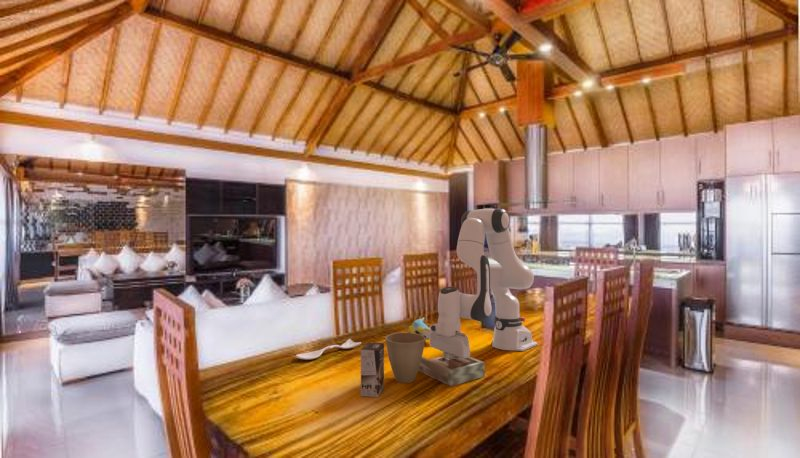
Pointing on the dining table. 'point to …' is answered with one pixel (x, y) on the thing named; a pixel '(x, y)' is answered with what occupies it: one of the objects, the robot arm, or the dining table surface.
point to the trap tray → (452, 370)
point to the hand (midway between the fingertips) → (449, 363)
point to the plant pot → (405, 355)
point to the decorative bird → (420, 328)
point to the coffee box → (372, 369)
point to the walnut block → (457, 363)
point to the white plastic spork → (316, 354)
